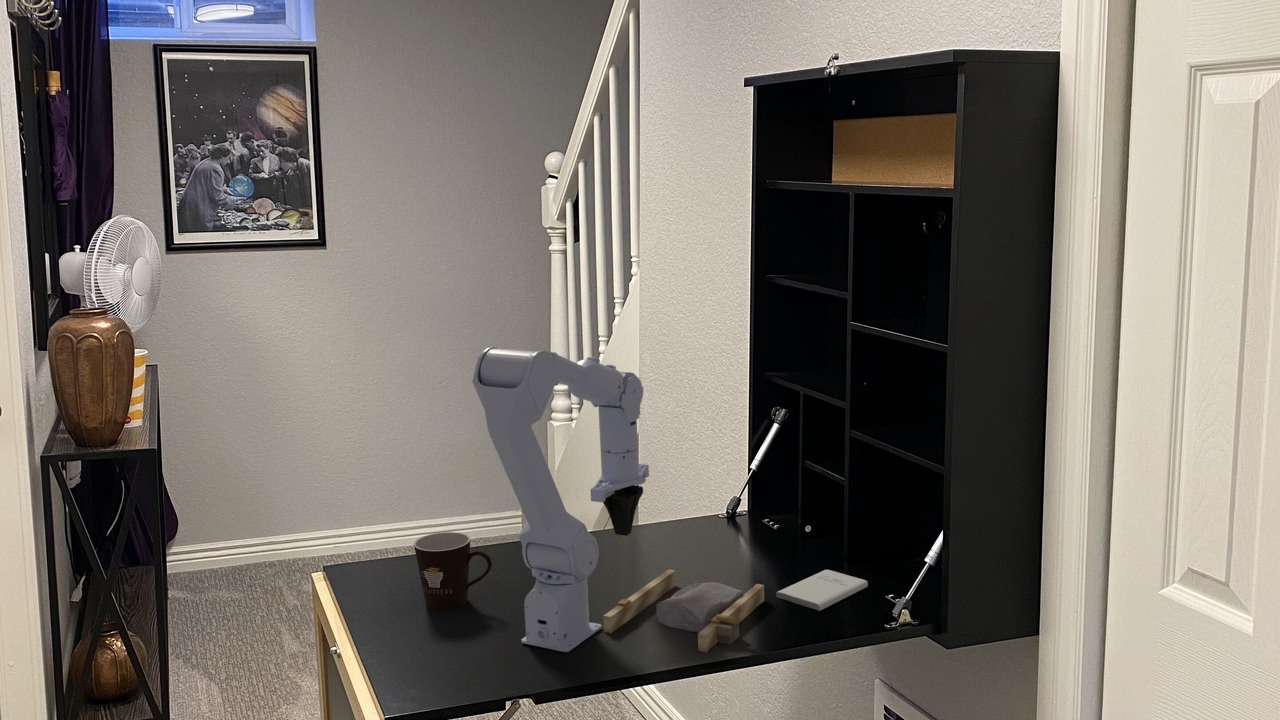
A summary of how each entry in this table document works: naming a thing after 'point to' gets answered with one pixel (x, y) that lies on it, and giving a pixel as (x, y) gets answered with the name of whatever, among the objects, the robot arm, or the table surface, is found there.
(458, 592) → the coffee mug
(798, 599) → the external hard drive
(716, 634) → the beam track
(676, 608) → the stone block
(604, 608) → the table surface
